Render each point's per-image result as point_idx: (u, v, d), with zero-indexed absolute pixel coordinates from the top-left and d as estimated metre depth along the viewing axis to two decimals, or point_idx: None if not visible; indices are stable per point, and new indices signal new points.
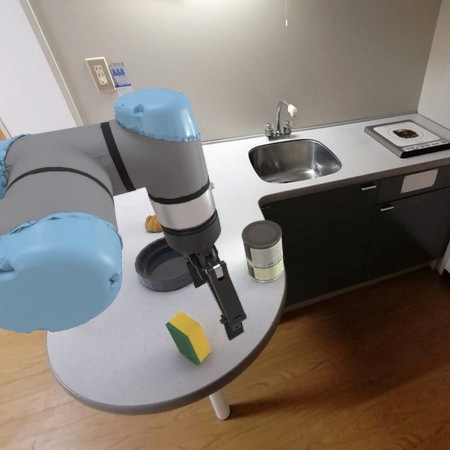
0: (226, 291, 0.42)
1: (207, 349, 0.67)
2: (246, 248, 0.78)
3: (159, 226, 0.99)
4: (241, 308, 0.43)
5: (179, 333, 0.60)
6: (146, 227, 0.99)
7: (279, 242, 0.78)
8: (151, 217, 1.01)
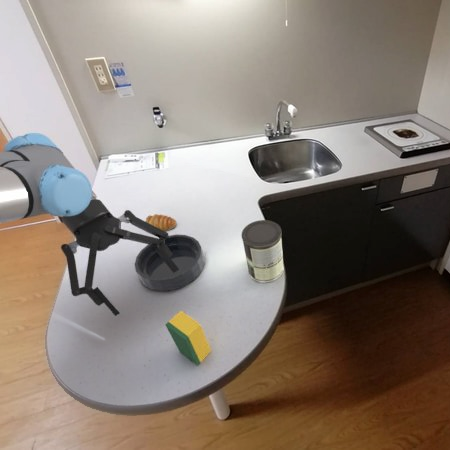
0: None
1: (207, 349, 0.67)
2: (246, 248, 0.78)
3: (159, 226, 0.99)
4: None
5: (179, 333, 0.60)
6: None
7: (279, 242, 0.78)
8: (151, 217, 1.01)
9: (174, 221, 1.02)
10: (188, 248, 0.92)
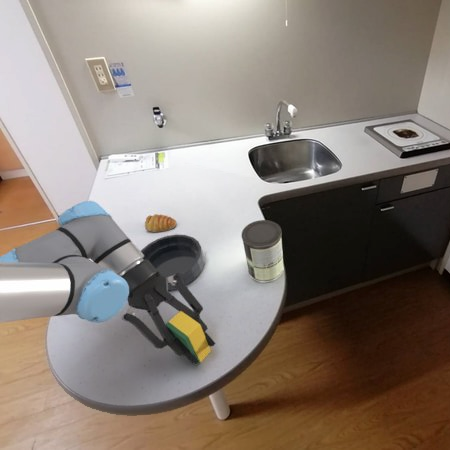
0: None
1: (207, 349, 0.67)
2: (246, 248, 0.78)
3: (159, 226, 0.99)
4: None
5: (179, 333, 0.60)
6: (146, 227, 0.99)
7: (279, 242, 0.78)
8: (151, 217, 1.01)
9: (174, 221, 1.02)
10: (188, 248, 0.92)
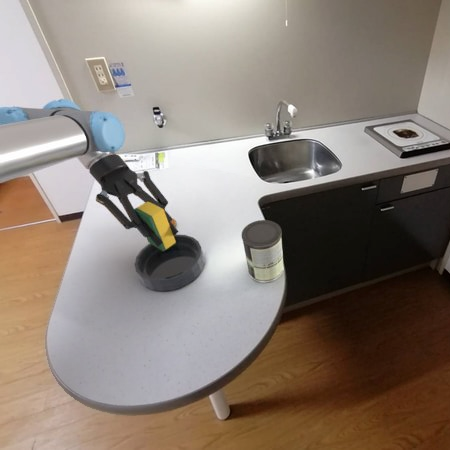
0: None
1: (172, 239, 0.78)
2: (246, 248, 0.78)
3: None
4: None
5: (144, 214, 0.71)
6: None
7: (279, 242, 0.78)
8: None
9: (174, 221, 1.02)
10: (188, 248, 0.92)
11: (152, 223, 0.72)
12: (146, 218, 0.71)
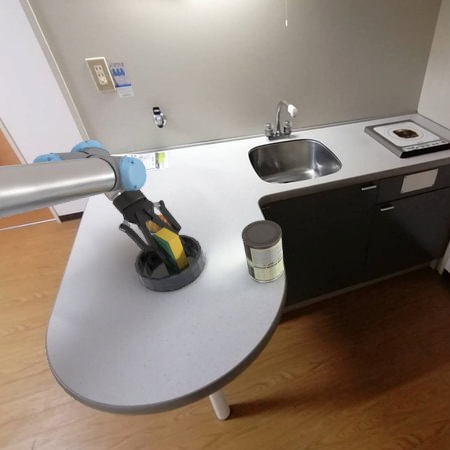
0: None
1: (185, 260, 0.87)
2: (246, 248, 0.78)
3: None
4: None
5: (162, 240, 0.80)
6: None
7: (279, 242, 0.78)
8: None
9: None
10: (188, 248, 0.92)
11: (168, 248, 0.81)
12: (163, 244, 0.80)
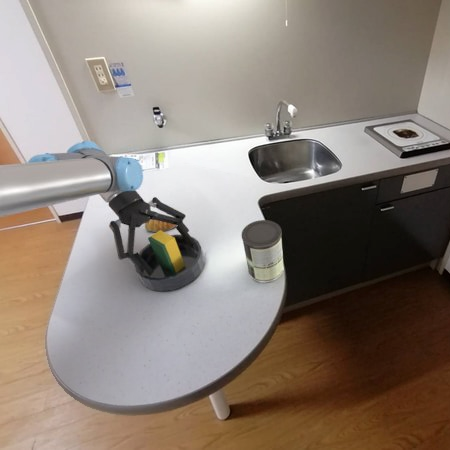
0: None
1: (181, 263, 0.87)
2: (246, 248, 0.78)
3: (159, 226, 0.99)
4: None
5: (158, 243, 0.80)
6: (146, 227, 0.99)
7: (279, 242, 0.78)
8: None
9: None
10: (188, 248, 0.92)
11: (165, 251, 0.80)
12: (159, 246, 0.80)
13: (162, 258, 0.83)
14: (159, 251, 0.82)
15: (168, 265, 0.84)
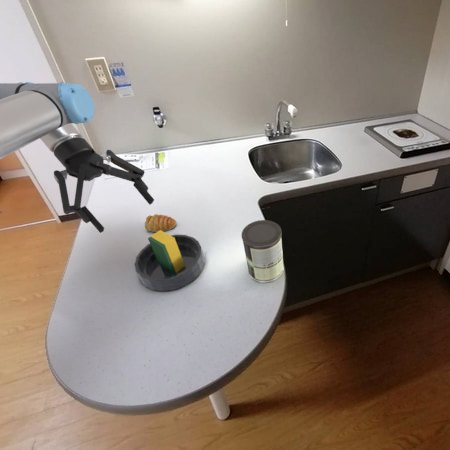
0: None
1: (181, 263, 0.87)
2: (246, 248, 0.78)
3: (159, 226, 0.99)
4: None
5: (158, 243, 0.80)
6: (146, 227, 0.99)
7: (279, 242, 0.78)
8: (151, 217, 1.01)
9: (174, 221, 1.02)
10: (188, 248, 0.92)
11: (165, 251, 0.80)
12: (159, 246, 0.80)
13: (162, 258, 0.83)
14: (159, 251, 0.82)
15: (168, 265, 0.84)
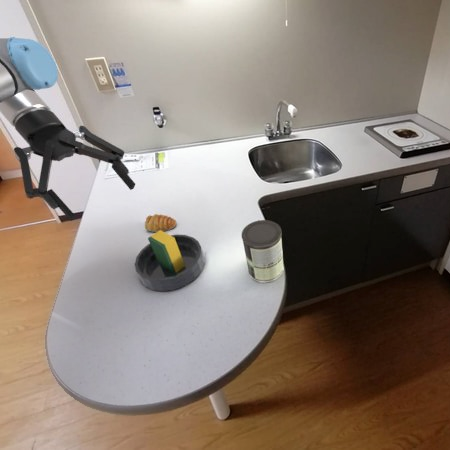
0: None
1: (181, 263, 0.87)
2: (246, 248, 0.78)
3: (159, 226, 0.99)
4: None
5: (158, 243, 0.80)
6: (146, 227, 0.99)
7: (279, 242, 0.78)
8: (151, 217, 1.01)
9: (174, 221, 1.02)
10: (188, 248, 0.92)
11: (165, 251, 0.80)
12: (159, 246, 0.80)
13: (162, 258, 0.83)
14: (159, 251, 0.82)
15: (168, 265, 0.84)
